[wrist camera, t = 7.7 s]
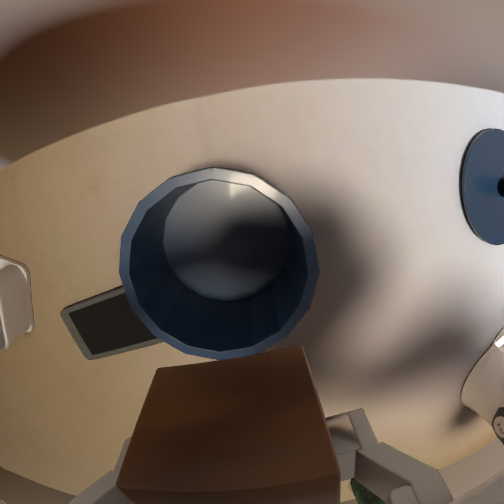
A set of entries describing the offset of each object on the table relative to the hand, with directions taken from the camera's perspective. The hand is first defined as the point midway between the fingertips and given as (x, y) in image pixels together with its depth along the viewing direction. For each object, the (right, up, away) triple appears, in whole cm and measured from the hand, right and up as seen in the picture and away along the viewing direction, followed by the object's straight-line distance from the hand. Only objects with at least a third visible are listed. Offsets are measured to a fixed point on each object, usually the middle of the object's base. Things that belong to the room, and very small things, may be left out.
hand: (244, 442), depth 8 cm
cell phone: (-15, -2, +23) cm, 28 cm away
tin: (-2, +7, +21) cm, 22 cm away
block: (0, 0, +2) cm, 2 cm away
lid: (+31, +14, +18) cm, 39 cm away
